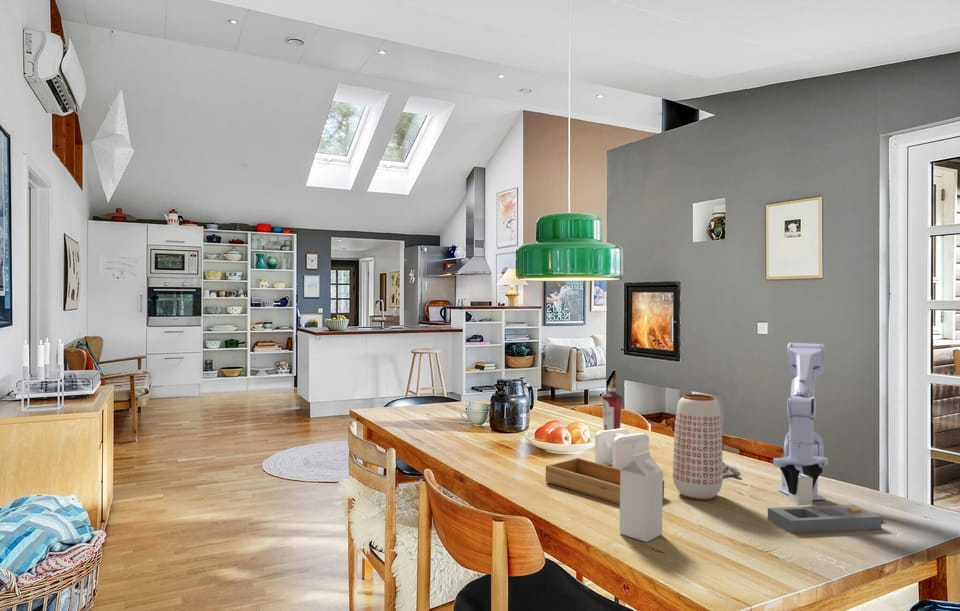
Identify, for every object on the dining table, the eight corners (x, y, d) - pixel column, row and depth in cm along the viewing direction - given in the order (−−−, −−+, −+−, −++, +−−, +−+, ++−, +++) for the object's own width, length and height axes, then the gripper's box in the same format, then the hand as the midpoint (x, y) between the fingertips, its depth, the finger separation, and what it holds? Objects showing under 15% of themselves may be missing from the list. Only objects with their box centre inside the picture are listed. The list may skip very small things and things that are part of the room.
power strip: (791, 533, 144) (791, 518, 144) (767, 519, 153) (767, 505, 153) (897, 528, 148) (898, 513, 148) (868, 515, 157) (869, 501, 157)
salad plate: (756, 476, 193) (757, 462, 193) (716, 483, 185) (716, 468, 185) (709, 462, 210) (709, 449, 210) (670, 467, 202) (670, 454, 202)
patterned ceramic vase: (699, 486, 180) (700, 391, 180) (733, 500, 168) (734, 398, 168) (662, 490, 176) (663, 393, 175) (694, 505, 163) (695, 400, 163)
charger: (788, 500, 162) (788, 473, 162) (802, 499, 162) (802, 473, 162) (798, 505, 158) (798, 478, 158) (812, 504, 158) (812, 477, 158)
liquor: (597, 445, 231) (598, 372, 231) (612, 443, 235) (613, 371, 235) (610, 449, 225) (611, 374, 225) (625, 447, 228) (626, 373, 228)
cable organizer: (626, 460, 209) (627, 427, 209) (650, 468, 200) (650, 433, 200) (594, 466, 202) (594, 431, 202) (616, 474, 193) (617, 437, 192)
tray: (664, 499, 170) (664, 478, 170) (633, 511, 160) (633, 489, 160) (577, 475, 192) (577, 457, 192) (545, 484, 182) (545, 465, 182)
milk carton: (619, 534, 142) (620, 453, 142) (635, 526, 147) (636, 448, 147) (646, 543, 137) (647, 459, 137) (662, 535, 142) (663, 453, 142)
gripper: (785, 446, 155) (785, 499, 155) (836, 444, 157) (836, 496, 157) (768, 439, 162) (767, 490, 162) (817, 438, 164) (817, 488, 164)
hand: (800, 493), depth 160 cm, fingers closed on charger, 4 cm apart
